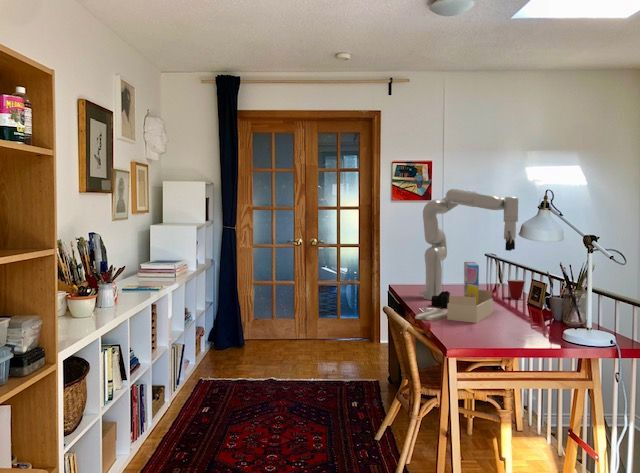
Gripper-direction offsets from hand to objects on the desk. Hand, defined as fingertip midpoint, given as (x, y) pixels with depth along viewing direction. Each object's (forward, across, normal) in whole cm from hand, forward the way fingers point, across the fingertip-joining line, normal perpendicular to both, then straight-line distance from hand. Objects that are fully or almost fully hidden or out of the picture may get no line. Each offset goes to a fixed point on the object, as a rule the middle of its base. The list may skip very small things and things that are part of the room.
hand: (510, 249), depth 287 cm
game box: (+32, +36, -12) cm, 50 cm away
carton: (+32, +36, -12) cm, 50 cm away
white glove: (+32, +44, -29) cm, 62 cm away
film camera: (+33, +16, -34) cm, 50 cm away
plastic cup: (+32, -33, -2) cm, 47 cm away
